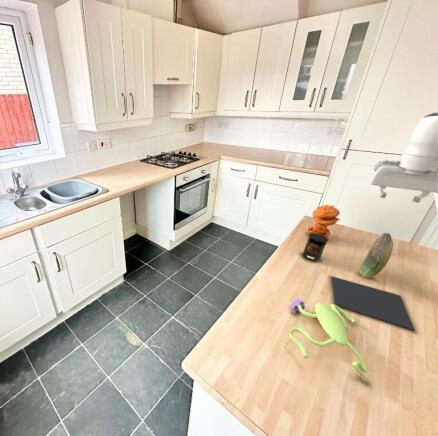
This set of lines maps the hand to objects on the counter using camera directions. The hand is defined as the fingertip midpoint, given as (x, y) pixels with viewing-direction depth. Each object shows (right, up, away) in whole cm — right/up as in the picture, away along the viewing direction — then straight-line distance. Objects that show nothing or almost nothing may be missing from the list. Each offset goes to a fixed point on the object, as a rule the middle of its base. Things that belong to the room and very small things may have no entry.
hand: (398, 199), depth 90 cm
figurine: (-40, -43, -17) cm, 61 cm away
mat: (-16, -36, -5) cm, 40 cm away
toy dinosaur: (-8, -17, +31) cm, 36 cm away
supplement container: (-21, -24, +17) cm, 36 cm away
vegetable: (-7, -30, +5) cm, 32 cm away
